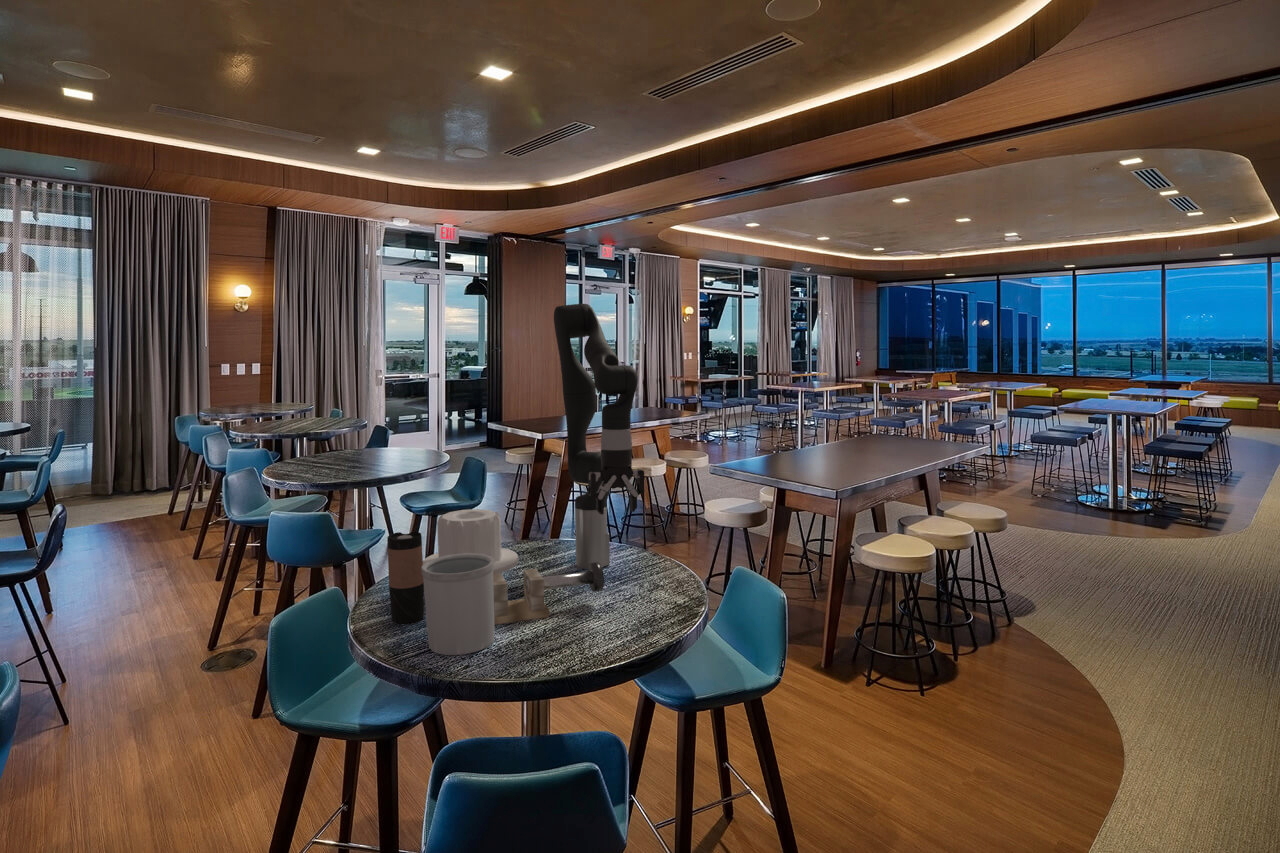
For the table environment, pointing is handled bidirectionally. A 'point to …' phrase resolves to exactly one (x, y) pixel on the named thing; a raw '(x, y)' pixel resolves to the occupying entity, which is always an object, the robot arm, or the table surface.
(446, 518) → the ribbed cylinder on disc
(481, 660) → the table surface
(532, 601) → the block
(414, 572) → the travel mug
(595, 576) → the shaft
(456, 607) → the utensil holder
